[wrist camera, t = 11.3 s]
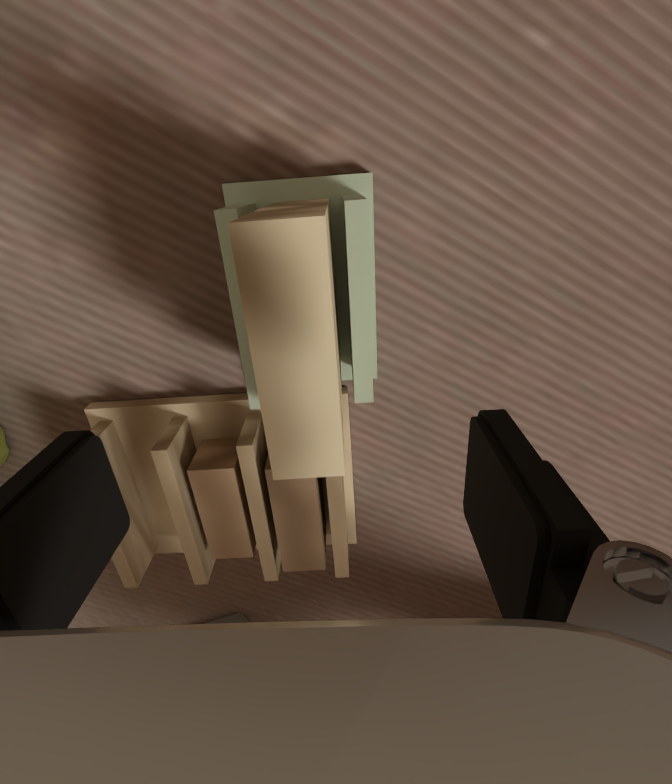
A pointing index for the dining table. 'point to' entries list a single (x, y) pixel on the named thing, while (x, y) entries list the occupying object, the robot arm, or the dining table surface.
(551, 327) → the dining table surface
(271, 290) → the maple block
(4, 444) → the plant pot
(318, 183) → the green stand
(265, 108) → the dining table surface
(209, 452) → the walnut offcut
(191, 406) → the offcut rack
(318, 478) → the walnut offcut
